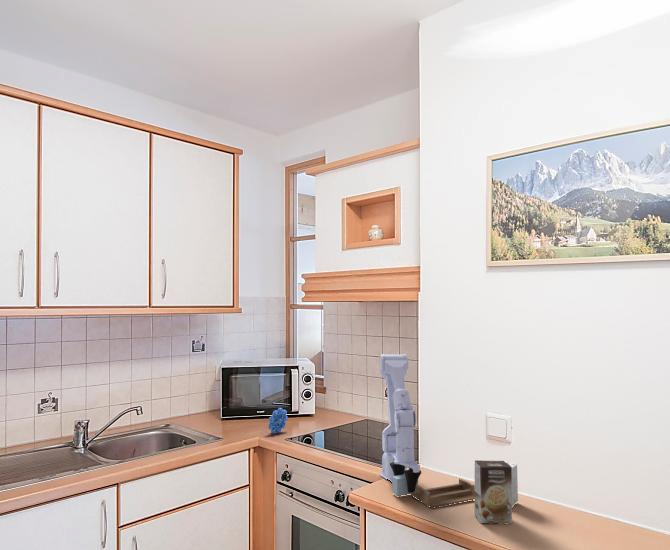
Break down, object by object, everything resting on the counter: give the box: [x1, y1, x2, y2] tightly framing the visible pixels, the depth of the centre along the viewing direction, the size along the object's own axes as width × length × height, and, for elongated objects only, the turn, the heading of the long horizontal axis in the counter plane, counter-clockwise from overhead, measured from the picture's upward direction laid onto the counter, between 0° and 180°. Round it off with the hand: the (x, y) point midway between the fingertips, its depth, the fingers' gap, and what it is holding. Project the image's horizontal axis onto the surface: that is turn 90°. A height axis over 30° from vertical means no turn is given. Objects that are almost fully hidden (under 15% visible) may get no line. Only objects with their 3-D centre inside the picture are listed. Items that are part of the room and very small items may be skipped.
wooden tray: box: [411, 478, 475, 509], centre depth 164 cm, size 11×18×4 cm, turn 114°
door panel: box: [391, 474, 419, 496], centre depth 168 cm, size 3×8×6 cm, turn 114°
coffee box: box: [473, 459, 513, 524], centre depth 148 cm, size 9×6×16 cm
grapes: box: [267, 407, 289, 434], centre depth 247 cm, size 12×7×12 cm, turn 136°
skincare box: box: [504, 461, 519, 506], centre depth 160 cm, size 6×4×12 cm
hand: (405, 488), depth 168 cm, fingers open, 7 cm apart
